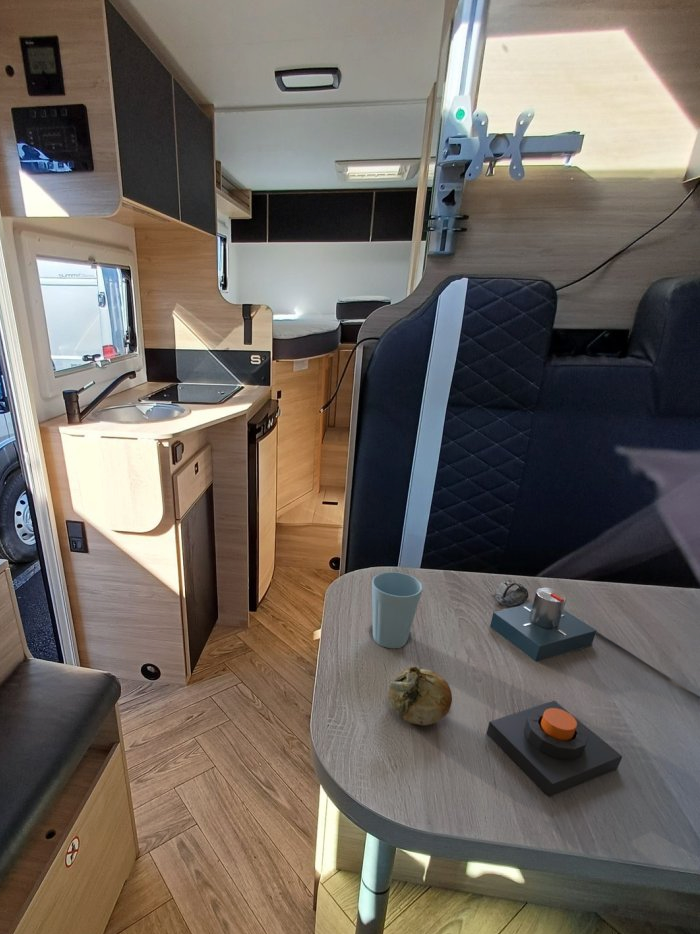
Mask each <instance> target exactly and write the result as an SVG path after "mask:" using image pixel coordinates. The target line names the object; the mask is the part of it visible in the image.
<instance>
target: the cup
mask: <svg viewBox="0 0 700 934" xmlns="http://www.w3.org/2000/svg"><path fill="white" fill-rule="evenodd" d="M423 587H424V586H423V584H422V582H421V581H420V579H417V578H416V577H415V576H412V575H410V574H407V573H403V572H400V571H385V572H381V573H378V574H376V575H375V576H374V577H373V578H372V580H371V596H372V597H371V599H372V601H371V602H372V604H371V605H372V609H371V612H372V614H371V615H372V638H373V641H374V642H375V643H376V644H378V645H379V646H381V647H383V648H388V649H400V648H402V647H404V646H405V645H406V644H407V642H408V639H409V636H410V633H411V629H412V626H413V622H414V618H415V616H416V612H417V609H418V605H419V602H420V599H421V596H422V592H423Z"/></svg>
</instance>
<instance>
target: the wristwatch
mask: <svg viewBox="0 0 700 934" xmlns="http://www.w3.org/2000/svg"><path fill="white" fill-rule="evenodd" d="M515 585H516V586H517V588H516V589H515V590H512V591H511V593H510V594H509V596H508V597H506V595H507V593H508V591H509V590H510V588H512V587H513V586H515ZM529 596H530V595H529V591H528V589H527V587H525V586H524V585H523V584H521V583H520V582H517V581H516V580H515V579H513V578H506V579H505V580H504V581H503V582H502V581H501V583H500V584H499V586H498V587H497V590H496V595H495V600H496V601H498V602H499V603H500V604H501V605H502V606H508V607H516V606H521V605H523V604H524V603H525V602H526V601H527V600H528V598H529Z"/></svg>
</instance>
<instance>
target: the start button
mask: <svg viewBox="0 0 700 934" xmlns="http://www.w3.org/2000/svg"><path fill="white" fill-rule="evenodd" d="M568 712H569V711H568ZM568 712H566V711H564V710H561V709H557V708H549V709H547V710H546V711H545V712H544V714H543V718H542V721H541V728H542V730H543V731H544V732H545V733H546V734H547V735H548V736H551V737H553V738H555V739H557V740H563V741H567V740H570V739H572V738H573V735H574V733H575V730H576V727H577V722H576V720H575V718H576V717H575V716H574V715H573V714H572V715H573V716H574V717H575V718H574V717H573V716H572V715H571V713H570V712H569V713H570V714H569V713H568Z"/></svg>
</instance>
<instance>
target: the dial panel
mask: <svg viewBox="0 0 700 934" xmlns="http://www.w3.org/2000/svg"><path fill="white" fill-rule="evenodd" d="M532 606H533V602H529V603H525V604H521V605H516V606H511V607H508V608H505V609H501V610H497V611H493V612H492V616H491V621H490V624H489V627H490V628H491V629H492V630H494V632H496V633H498V635H500V636H501V637H503V638H504V639H505V640H507V641H508V642H509V643H511V644H512V645H514V646H515V647H516V648H517V649H519V650H520V651H521V652H523V653H524V654H525V655H526V656H528V657H529V658H530V659H531V660H533V661H534V662H538V661H541V660H545V659H548V658H552V657H555V656H558V655H564V654H566V653H570V652H573V651H577V650H580V649H584V648H588V647H591V646H592V645H593V642H594V640H595V637H596V634H597V632H598V631H597V629H595V628H594V627H592V626H590V625H589V624H587V623H586V622H585V621H583V620H581V619H580V618H578V617H577V616H575V615H573V614H572V613H570V612H569V611H567V610H565V608H564V609H563V613H562V616H561V619H560V622H559V625H558V626H557V627H556V628H544V627H540V626H538V625H536V624H534V623H533V622H532V621H531V620H530V618H529V617H530V613H531V609H532Z"/></svg>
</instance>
